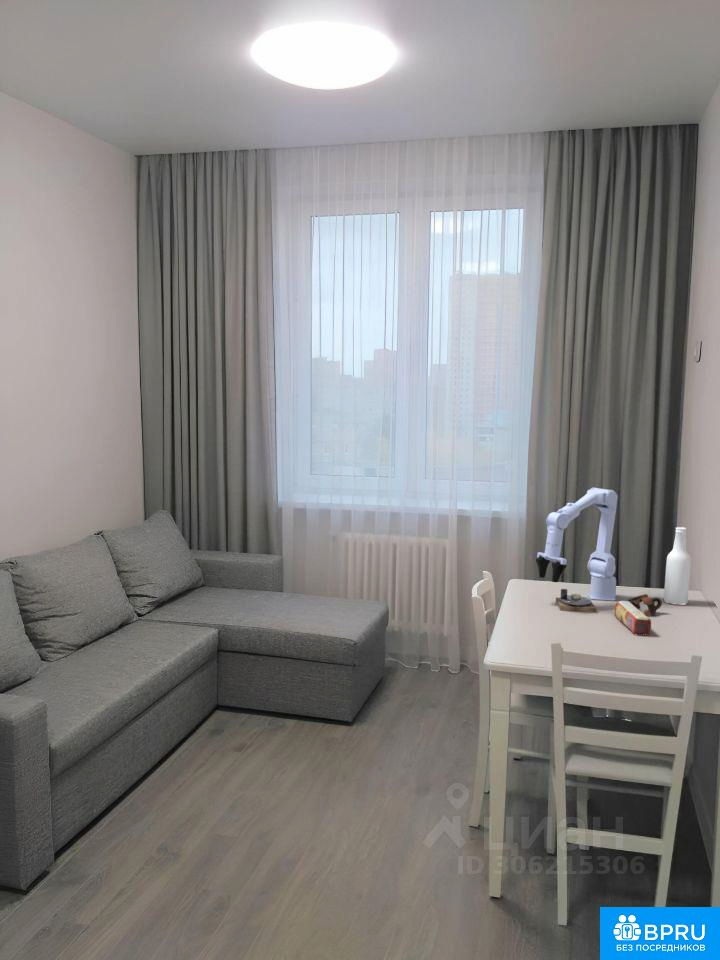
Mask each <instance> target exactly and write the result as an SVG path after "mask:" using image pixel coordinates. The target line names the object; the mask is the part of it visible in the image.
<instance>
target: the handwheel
mask: <svg viewBox="0 0 720 960" xmlns="http://www.w3.org/2000/svg"><path fill="white" fill-rule="evenodd" d="M560 598H561V602H562V603H564V604H567V605H572V606H588V605H590V604H591V602H592V599H591V598H588V597H585V596H582V595H581V594H578V593H572V594H571V595H568V589H567V588H561V589H560Z"/></svg>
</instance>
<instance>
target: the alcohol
mask: <svg viewBox="0 0 720 960" xmlns="http://www.w3.org/2000/svg"><path fill="white" fill-rule="evenodd" d="M672 547H673V548H672V550H671V551H670V552H668V554H667V556H666V563H665V564H666V565H665V577H664V589H663V590H664V591H663V592H664V593H663V601H664V602H665V601H666V602H669V603H676V604H682V603H687V604H688V603H689V601H688V600H689V589H690V579H691V577H690V576H691V566H692V565H691V563H692V560H691V559H692V558H691V556H690V554H689V552H688V550H687V528H686V527H682V526H677V527H675V535H674V541H673V546H672ZM666 602H665V603H666Z"/></svg>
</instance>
